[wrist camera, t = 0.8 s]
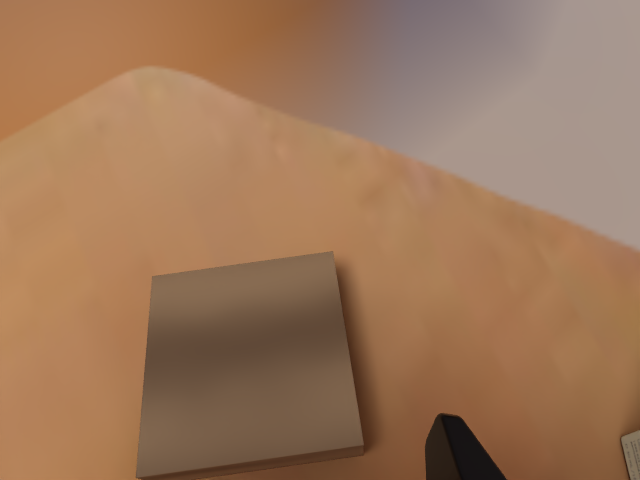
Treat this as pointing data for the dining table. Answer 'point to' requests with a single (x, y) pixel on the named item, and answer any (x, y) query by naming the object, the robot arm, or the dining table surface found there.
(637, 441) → the skincare box
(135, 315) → the dining table surface
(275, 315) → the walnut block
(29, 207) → the dining table surface
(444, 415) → the robot arm
